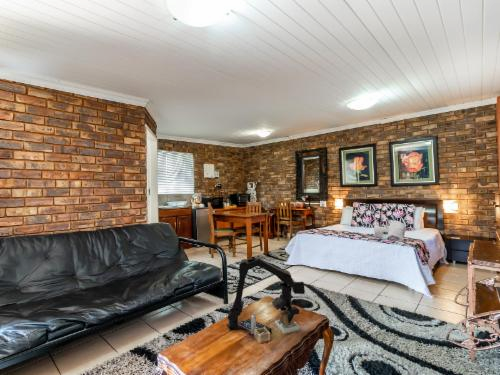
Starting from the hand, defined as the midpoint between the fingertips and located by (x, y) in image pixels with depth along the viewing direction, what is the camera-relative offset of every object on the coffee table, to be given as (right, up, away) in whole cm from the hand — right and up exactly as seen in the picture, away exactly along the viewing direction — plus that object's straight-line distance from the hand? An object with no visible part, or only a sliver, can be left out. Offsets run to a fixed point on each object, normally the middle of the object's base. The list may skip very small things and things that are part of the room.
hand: (286, 320), depth 158 cm
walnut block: (0, -2, 0) cm, 2 cm away
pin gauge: (-19, -5, -5) cm, 21 cm away
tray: (0, -4, 0) cm, 4 cm away
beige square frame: (-15, -5, -11) cm, 19 cm away
